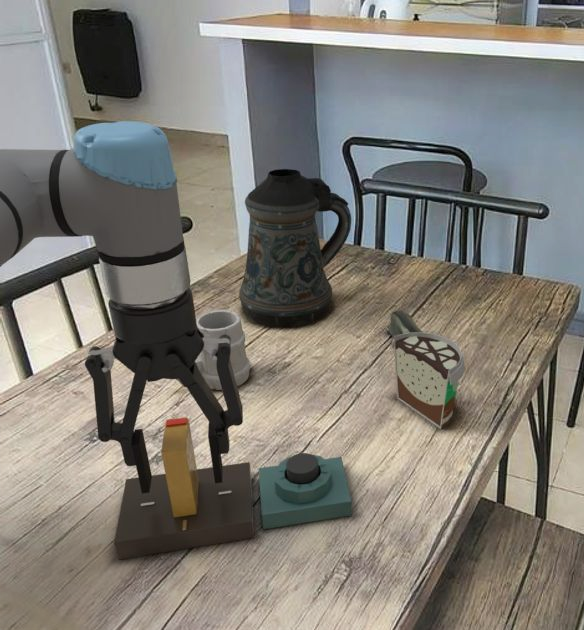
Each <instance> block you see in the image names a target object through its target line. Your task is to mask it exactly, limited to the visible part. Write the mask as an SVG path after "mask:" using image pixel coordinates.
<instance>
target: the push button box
mask: <svg viewBox="0 0 584 630" xmlns="http://www.w3.org/2000/svg"><path fill="white" fill-rule="evenodd" d="M294 455H295V454H293V455H291V456H289V457H287V458H286V459H284V460H281V461H280V462H279V463H278V465H272V466H264V467H259V468H258V479H259V480H258V481H259V482H258V483H259V497H260V498H259V499H260V512H261V513H260V514H261V525H262V529H263V530H269V529H275V528H281V527H287V526H295V525H299V524H300V525H301V524H306V523H312V522H319V521H326V520H332V519H338V518H342V517H343V518H344V517H350V516H352V515H353V510H352V509H353V507H352V497H351V493H350V489H349V484H348V480H347V475H346V471H345V467H344V462H343V458H342V456H336V457H329V458H323V457H322V456H321V455H316V454H313V455H314V456H315V457H316V458H317V460H318V471H319V474H318V477H317V478H316V480H315V481H313V482H311V483H309V484H303V485H298V484H294V483H292V482H290V481H289V480H288V478H287V468H286V463H287V461H288V459H289V458H290V457H292V456H294Z"/></svg>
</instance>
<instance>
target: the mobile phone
mask: <svg viewBox="0 0 584 630" xmlns="http://www.w3.org/2000/svg"><path fill="white" fill-rule="evenodd" d="M389 321H390V322H389V323H390V324H389V325H390V326H389V325H386V326H385V330H386V331H387V332H388V333H389V334H390V335H391V336H392V337H393V338H394V336H397V335H400V334H405V333H414V332H423V333H424V331H423V330H422V329H421V328H420V327H419V326H418V325H417V323H416V322H415V320H414V318H413V317H412V316H411V315H410V314H409V313H407V312H404V311H403V310H395V311H392V312H391V314H390V318H389Z"/></svg>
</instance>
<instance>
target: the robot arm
mask: <svg viewBox="0 0 584 630" xmlns="http://www.w3.org/2000/svg"><path fill="white" fill-rule="evenodd" d="M73 143H74V146H73V148H70V149H26V148H25V149H23V148H21V149H16V148H14V149H13V148H11V149H10V148H0V268H1V267H2V266H3V265H5V264H6V263H7V262H9V260H11V259H13V258H14V257H15V256H16V255H17V254H18V253H20V252H21V251H22V250H23V249H24V248H26V247H27V246H28V245H29V244H30V243H32V241H33V240H34V239H37V238H67V237H68V238H69V237H71V238H72V237H73V238H74V237H75V238H76V237H77V238H78V237H87V236H89V237H92V238H93V241H94V243H95V248H96V253H97V256H98V261H99V266H100V272H101V277H102V281H103V287H104V291H105V295H106V297H107V298H108V299H109V300H108V302H107V303H108V309H109V315H110V320H111V324H112V328H113V329H112V330H113V333H114V338H115V340H114V342H113V345H110V346H107V347H104V348H101V347H99V346H92V347H90V349H89V350H88V353H87V356H86V359H85V360H84V361H85V362H84V366H85V369H86V370H87V372H88V374H89V375H90V377H91V379H92V382H93V394H94V406H95V415H96V416H95V417H96V427H97V435H98V436H97V438H98V440H99V441H100V442H103V443H107V442H109V441H116V442H117V443H119V444H120V447H121V448H120V449H121V453H122V457H123V461H124V464H125V465H126V467H134V466H135V468H136V473H137V478H139V482H140V487H141V491H142V494H143V493H149V492H150V485H151V479H152V475H153V474H152V470H151V464H150V460H149V455H148V450H147V446H146V439H145V436H144V431H143V428H137V429H136V427H135V426H136V423H137V419H138V415H139V413H140V412H139V411H140V407H141V404H142V400H143V396H144V392H145V388H146V385H147V383H152V382H157V381H160V380H164V379H165V380H176V379H179V380H180V381H181V383H182V384H183V385H182V386H183V387H184V388H186V389H187V390H188V393H190V395H191V397H192V398H193V400H194V401H195V403H196V405H197V406H198V407H199V409H200V411H202V413H203V415H204V416H205V418H206V419H207V421H208V431H207V439H208V445H209V451H210V452H209V453H210V458H211V465H212V466H211V467H213V472H214V479H215V483H222V472H223V466H224V465H223V461H222V460H223V459H222V455H225V454H226V455H227V454H229V453H230V434H229V428H230V427H232V426H235V427H239V426H241V425H242V424H243V422H244V409H243V403H242V400H241V396H240V392H239V388H238V386H237V384H236V380H235V377H234V373H233V369H232V365H231V361H230V353H231V338H230V336H228V335H226V334H224V335H221V336H220V337H219V338H209V337H204V336H203V334H202V333H201V332H200V330H199V329H198V327H197V322H196V320H197V316H196V309H195V303H194V302H195V301H194V295H193V291H192V289H191V288H190V286H191V275H190V269H189V262H188V255H187V249H186V244H185V238H184V237H185V236H184V233H183V225H182V216H181V208H180V200H179V192H178V185H177V182H178V177H177V176H178V175H177V173H176V171H175V170H174V164H173V159H172V153H171V149H170V145H169V140H168V137H167V135H166V134H165V132H164V131H163V130H162V129H161V128H159V127H158V126H156V125H154V124H152V123H147V122H143V121H129V120H127V121H123V120H122V121H116V122H100V123H93V124H89V125H86V126H84V127H81V128H79V129H78V130H77V131H76V132H75V133H74V135H73ZM202 350H205V351H207V352H208V354H209V357H210V359H212V360H213V361H217V363H216V366H217V373H218V376H219V380H220V383H221V387H222V390H221V391H222V395H223V398H224V401H225V405H226V410H224V408H223V406H222V405H221V403H220V402H219V400H218V398H217V397H216V395H215V394H214V392H213V389H211V388H210V387H209V386H208V384H207V383H206V381H205V379H204V378H203V376H202V375H201V373H200V371H199V369H198V366H197V364H196V362H195V360H196V359H198V358H199V354H200V353H201V351H202ZM115 360H117V361H118V362H120V363H121V364H122V365H123V366H124V367H126V368H127V369H128V370H130V371H131V372H132V373H133V379H132V382H131V386H130V390H129V395H128V399H127V403H126V406H125V411H124V414H123V419H122V422H116V419H115V410H114V397H113V395H114V394H113V384H112V371H111V370H112V369H113V366H114V363H115Z"/></svg>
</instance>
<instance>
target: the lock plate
mask: <svg viewBox="0 0 584 630" xmlns="http://www.w3.org/2000/svg"><path fill="white" fill-rule="evenodd" d="M222 466H223V472H222V483H215V479H214V472H213V466H211V467H204V468H197V473H198V479H199V487H198V502H197V514H195V515H188V516H181V517H174V516H173V511H172V505H171V500H170V495H169V490H168V485H167V480H166V474H165V473H160V474H152V479H151V485H150V492H149V493H143V494H142V491H141V487H140V482H139V478H138V477H131V478H126V479H125V482H124V487H123V492H122V493H123V494H122V498H121V503H120V510H119V514H118V518H117V519H118V520H117V525H116V530H115V536H114V541H113V545H114V548H115V553H116V556H117V560H125V559H131V558H138V557H143V556H150V555H156V554H162V553H169V552H175V551H181V550H186V549H193V548H199V547H205V546H211V545H218V544H223V543H230V542H234V541H241V540H242V541H243V540H249V539H254V538H255V526H254V523H255V522H254V505H253V485H252V484H253V482H252V481H253V480H252V471H251V463H250V461H248V462H247V461H246V462H241V463H232V464H226V465H225V464H224V465H222Z"/></svg>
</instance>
